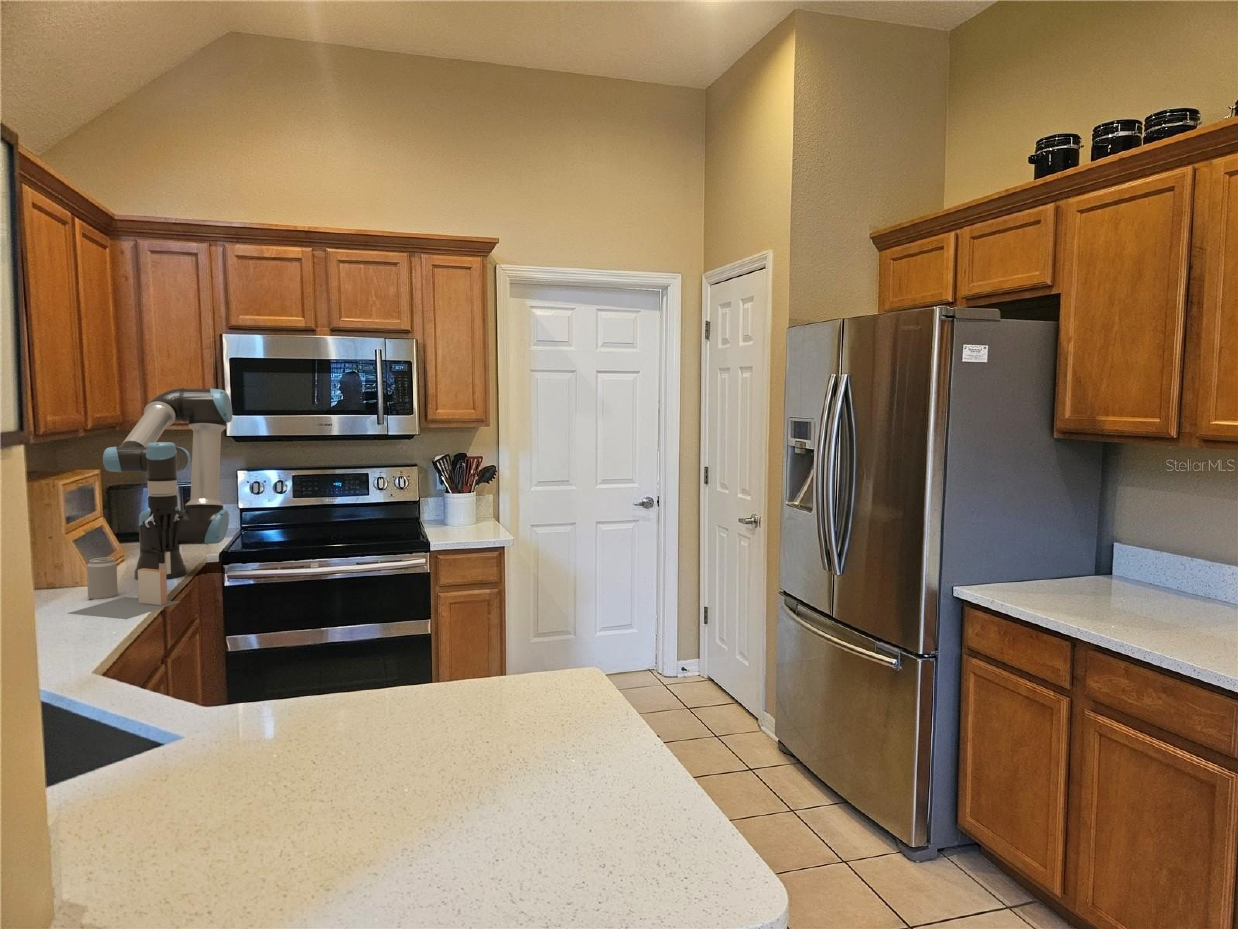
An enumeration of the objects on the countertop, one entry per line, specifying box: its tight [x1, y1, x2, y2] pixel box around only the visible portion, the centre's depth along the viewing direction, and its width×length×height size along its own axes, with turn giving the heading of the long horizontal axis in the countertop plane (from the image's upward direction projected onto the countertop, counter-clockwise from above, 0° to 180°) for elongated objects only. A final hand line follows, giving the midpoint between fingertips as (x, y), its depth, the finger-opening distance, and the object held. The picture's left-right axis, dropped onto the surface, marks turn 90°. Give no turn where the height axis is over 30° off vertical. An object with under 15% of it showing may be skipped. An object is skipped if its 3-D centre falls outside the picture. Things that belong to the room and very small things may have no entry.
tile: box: [137, 568, 168, 606], centre depth 226 cm, size 2×8×10 cm, turn 77°
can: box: [86, 556, 119, 601], centre depth 234 cm, size 8×8×12 cm
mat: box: [66, 596, 180, 620], centre depth 222 cm, size 19×20×1 cm
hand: (165, 573), depth 230 cm, fingers closed
